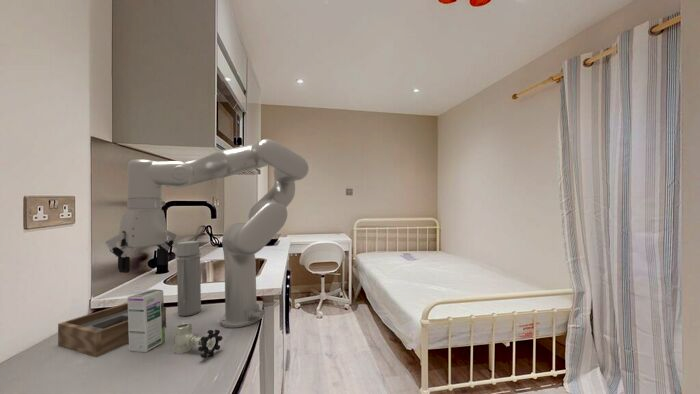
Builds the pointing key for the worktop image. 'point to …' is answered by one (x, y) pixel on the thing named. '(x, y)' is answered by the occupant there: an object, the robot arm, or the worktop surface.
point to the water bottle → (188, 278)
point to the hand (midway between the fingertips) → (144, 268)
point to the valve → (195, 340)
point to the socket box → (97, 331)
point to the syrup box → (146, 320)
